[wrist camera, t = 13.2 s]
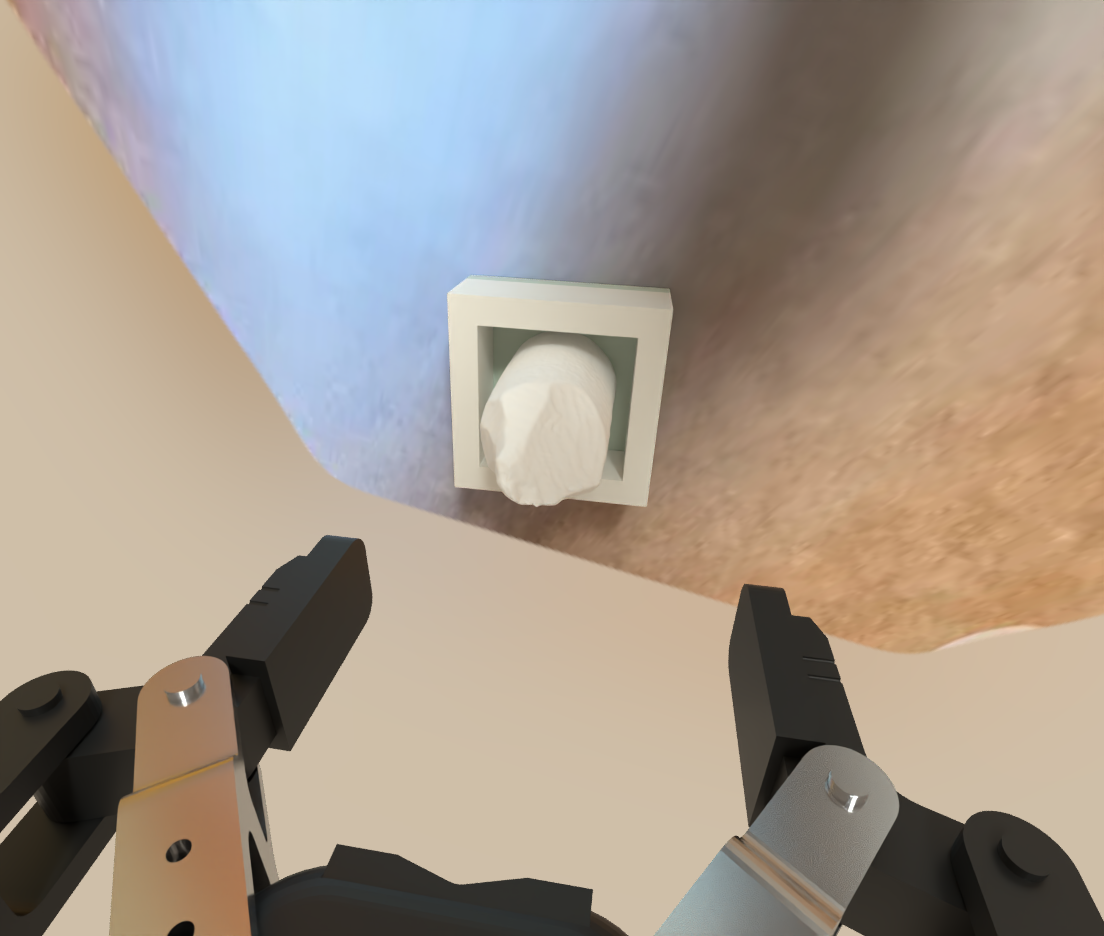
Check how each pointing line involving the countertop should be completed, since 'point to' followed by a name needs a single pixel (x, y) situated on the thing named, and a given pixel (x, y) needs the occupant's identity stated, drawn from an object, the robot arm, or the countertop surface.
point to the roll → (550, 419)
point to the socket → (586, 308)
